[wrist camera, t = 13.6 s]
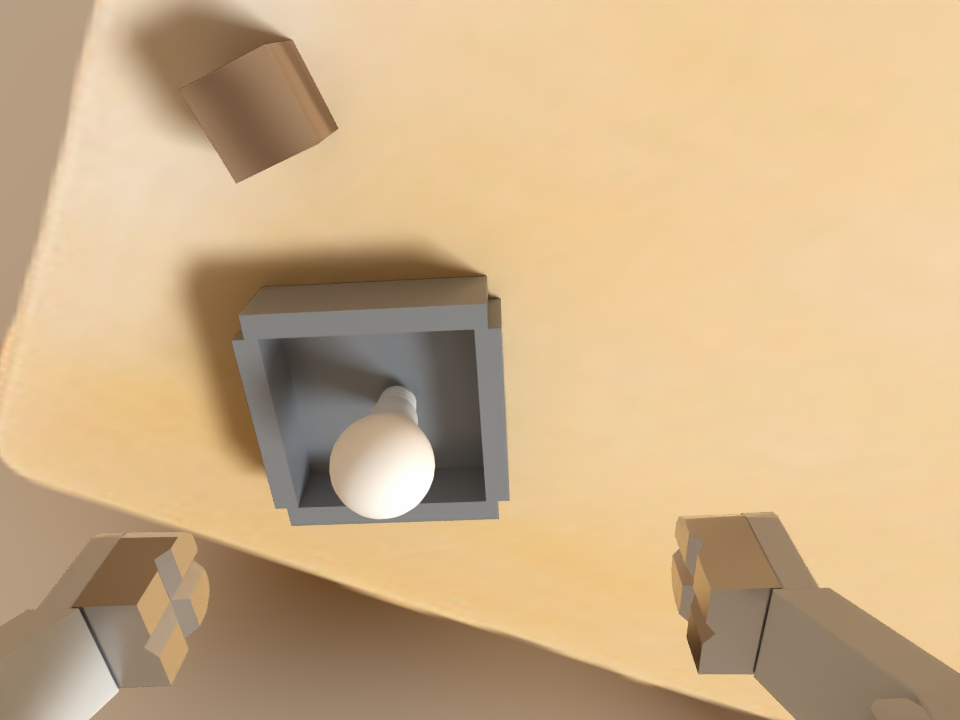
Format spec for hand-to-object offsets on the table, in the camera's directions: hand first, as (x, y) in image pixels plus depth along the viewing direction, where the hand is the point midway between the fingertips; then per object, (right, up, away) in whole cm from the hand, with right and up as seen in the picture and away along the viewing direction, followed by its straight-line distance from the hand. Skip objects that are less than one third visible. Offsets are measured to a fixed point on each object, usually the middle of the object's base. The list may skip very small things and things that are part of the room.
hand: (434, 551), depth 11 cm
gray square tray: (-6, +1, +35) cm, 35 cm away
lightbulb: (-5, +1, +34) cm, 35 cm away
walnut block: (-11, +18, +26) cm, 33 cm away
